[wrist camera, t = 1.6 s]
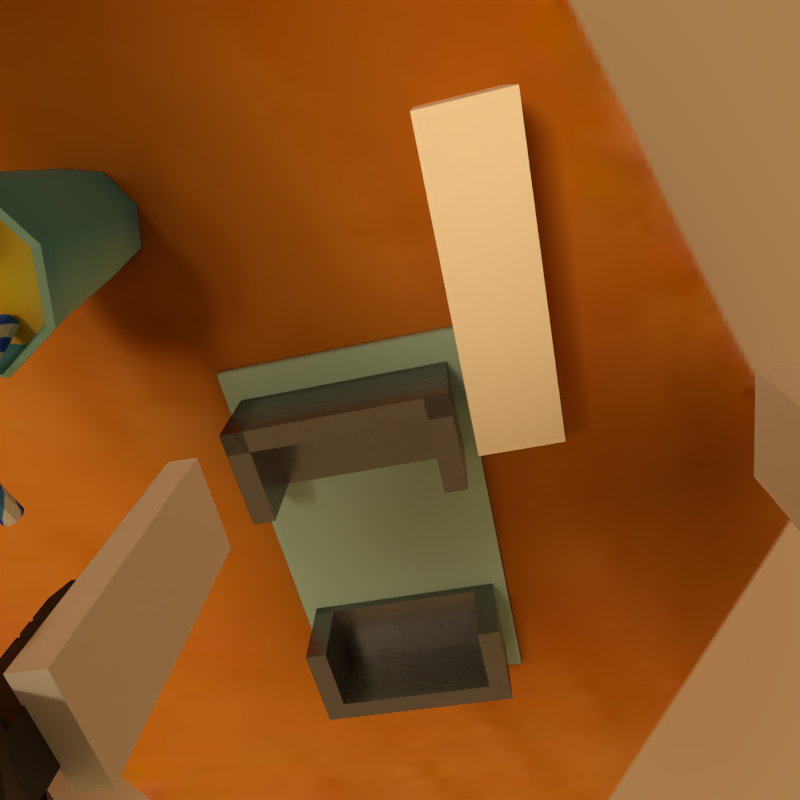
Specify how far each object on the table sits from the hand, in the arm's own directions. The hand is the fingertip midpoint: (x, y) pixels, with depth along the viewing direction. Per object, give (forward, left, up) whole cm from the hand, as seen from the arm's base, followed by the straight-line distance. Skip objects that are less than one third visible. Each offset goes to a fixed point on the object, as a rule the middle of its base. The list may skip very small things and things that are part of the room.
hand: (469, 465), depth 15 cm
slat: (0, +2, -19) cm, 19 cm away
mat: (+15, -7, -19) cm, 25 cm away
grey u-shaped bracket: (+7, -7, -18) cm, 21 cm away
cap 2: (+23, -7, -18) cm, 30 cm away
